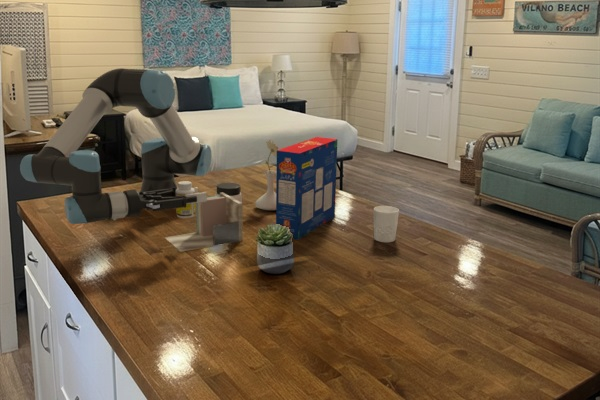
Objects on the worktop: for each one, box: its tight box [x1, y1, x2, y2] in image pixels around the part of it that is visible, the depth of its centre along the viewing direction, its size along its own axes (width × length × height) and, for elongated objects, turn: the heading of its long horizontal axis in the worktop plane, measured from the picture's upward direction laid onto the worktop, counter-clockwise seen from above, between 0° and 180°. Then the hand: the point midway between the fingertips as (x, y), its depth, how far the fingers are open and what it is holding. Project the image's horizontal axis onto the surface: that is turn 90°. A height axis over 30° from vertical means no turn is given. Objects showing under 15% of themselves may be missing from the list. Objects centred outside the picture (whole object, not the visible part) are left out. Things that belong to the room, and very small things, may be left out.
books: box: [195, 195, 227, 237], centre depth 193 cm, size 5×8×12 cm, turn 121°
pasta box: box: [275, 136, 338, 241], centre depth 203 cm, size 28×8×28 cm, turn 152°
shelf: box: [164, 192, 244, 253], centre depth 187 cm, size 14×20×13 cm
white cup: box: [373, 205, 400, 243], centre depth 194 cm, size 8×8×10 cm
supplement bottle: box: [175, 180, 196, 219], centre depth 180 cm, size 6×6×10 cm
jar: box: [215, 182, 243, 204], centre depth 211 cm, size 9×8×12 cm
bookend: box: [213, 222, 240, 246], centre depth 185 cm, size 1×8×6 cm, turn 121°
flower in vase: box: [254, 139, 279, 211], centre depth 222 cm, size 13×11×25 cm
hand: (201, 194), depth 182 cm, fingers closed on supplement bottle, 6 cm apart
